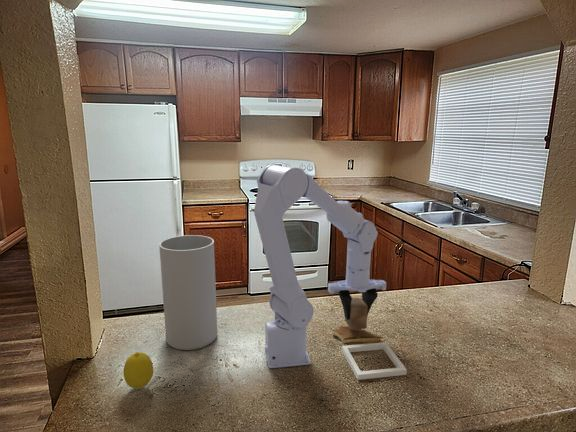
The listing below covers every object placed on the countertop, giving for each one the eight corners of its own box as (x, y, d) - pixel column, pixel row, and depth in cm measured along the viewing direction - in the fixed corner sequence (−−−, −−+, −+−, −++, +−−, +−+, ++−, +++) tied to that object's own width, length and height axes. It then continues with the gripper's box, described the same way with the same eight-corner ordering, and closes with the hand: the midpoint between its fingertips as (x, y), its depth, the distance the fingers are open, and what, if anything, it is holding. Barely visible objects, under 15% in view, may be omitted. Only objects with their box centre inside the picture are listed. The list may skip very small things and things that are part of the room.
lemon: (145, 376, 81) (142, 342, 79) (159, 387, 78) (157, 351, 76) (120, 389, 77) (116, 353, 75) (134, 401, 74) (130, 364, 72)
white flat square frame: (357, 379, 80) (357, 374, 80) (341, 350, 91) (342, 346, 91) (406, 374, 82) (406, 369, 82) (385, 346, 93) (385, 342, 92)
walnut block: (351, 329, 95) (352, 307, 93) (344, 320, 99) (345, 298, 98) (366, 328, 95) (367, 306, 94) (359, 318, 100) (360, 297, 99)
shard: (382, 342, 95) (382, 336, 95) (366, 355, 90) (367, 348, 89) (345, 327, 102) (345, 321, 102) (329, 339, 97) (329, 332, 96)
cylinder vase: (227, 331, 99) (224, 238, 94) (196, 356, 88) (191, 253, 82) (188, 321, 104) (183, 232, 99) (155, 344, 93) (147, 246, 88)
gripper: (334, 274, 89) (332, 327, 92) (393, 270, 91) (389, 322, 94) (326, 263, 96) (324, 313, 99) (381, 260, 98) (378, 309, 101)
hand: (355, 317), depth 97 cm, fingers closed on walnut block, 4 cm apart
